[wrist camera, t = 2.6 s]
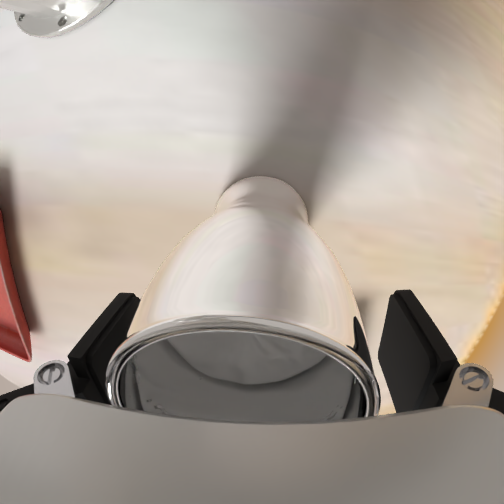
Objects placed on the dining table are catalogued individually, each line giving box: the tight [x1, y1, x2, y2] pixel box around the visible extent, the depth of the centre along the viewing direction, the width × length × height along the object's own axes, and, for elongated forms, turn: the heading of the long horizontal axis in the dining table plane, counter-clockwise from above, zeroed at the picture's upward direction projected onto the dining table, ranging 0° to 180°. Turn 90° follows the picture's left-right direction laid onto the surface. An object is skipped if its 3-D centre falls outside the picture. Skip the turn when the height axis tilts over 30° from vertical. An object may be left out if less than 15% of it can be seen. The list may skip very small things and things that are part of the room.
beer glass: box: [105, 176, 381, 422], centre depth 13 cm, size 7×7×15 cm
